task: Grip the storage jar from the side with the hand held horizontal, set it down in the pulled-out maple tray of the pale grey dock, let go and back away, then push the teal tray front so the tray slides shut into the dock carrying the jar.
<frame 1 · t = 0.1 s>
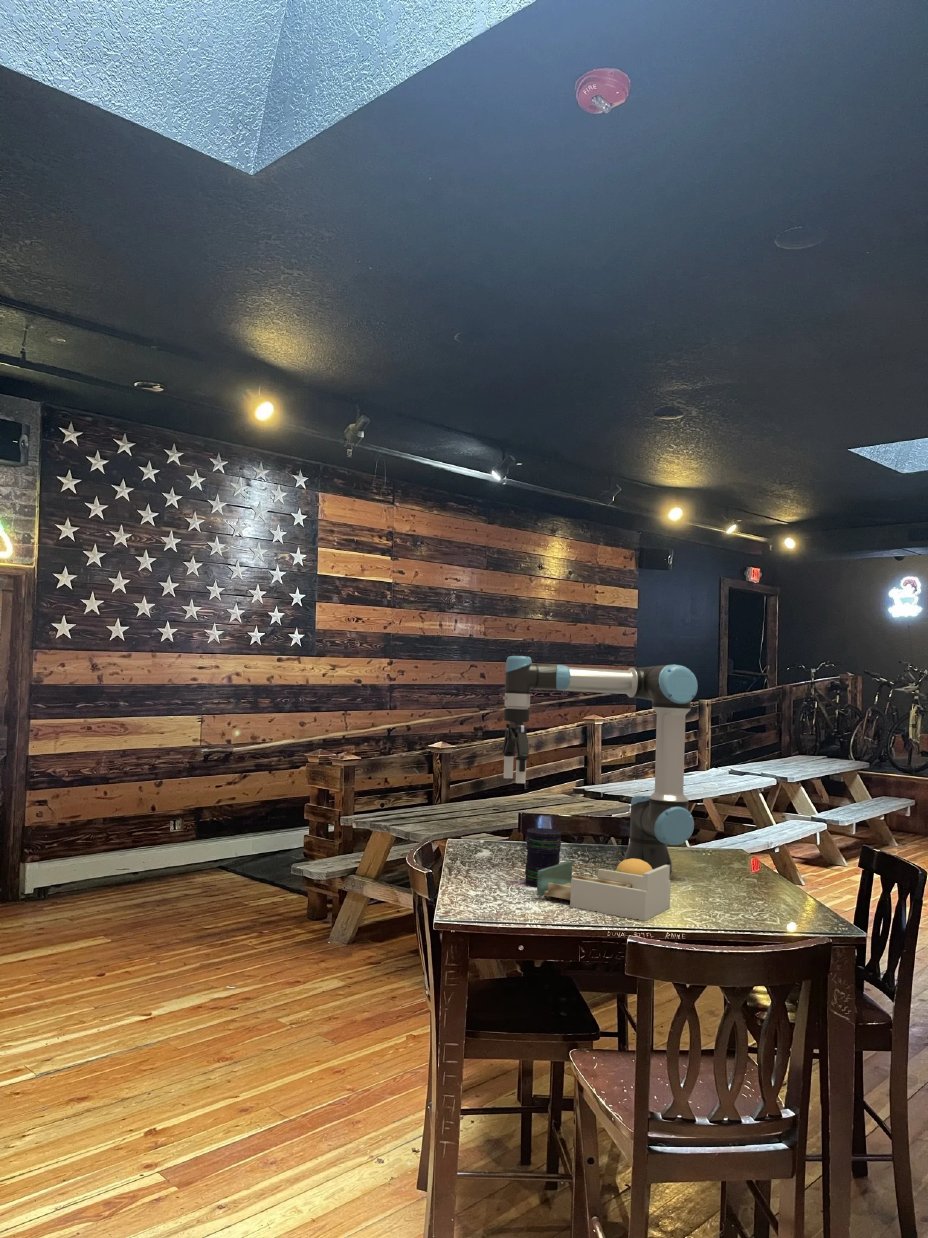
hand: (514, 780, 256), 28 cm above the table, tool pointing down, fingers open, 13 cm apart
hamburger: (634, 891, 245), on the table
dock: (620, 907, 224), on the table
tray: (586, 883, 230), point 4 cm above the table, slide at 8.0 cm
storage jar: (541, 885, 247), on the table
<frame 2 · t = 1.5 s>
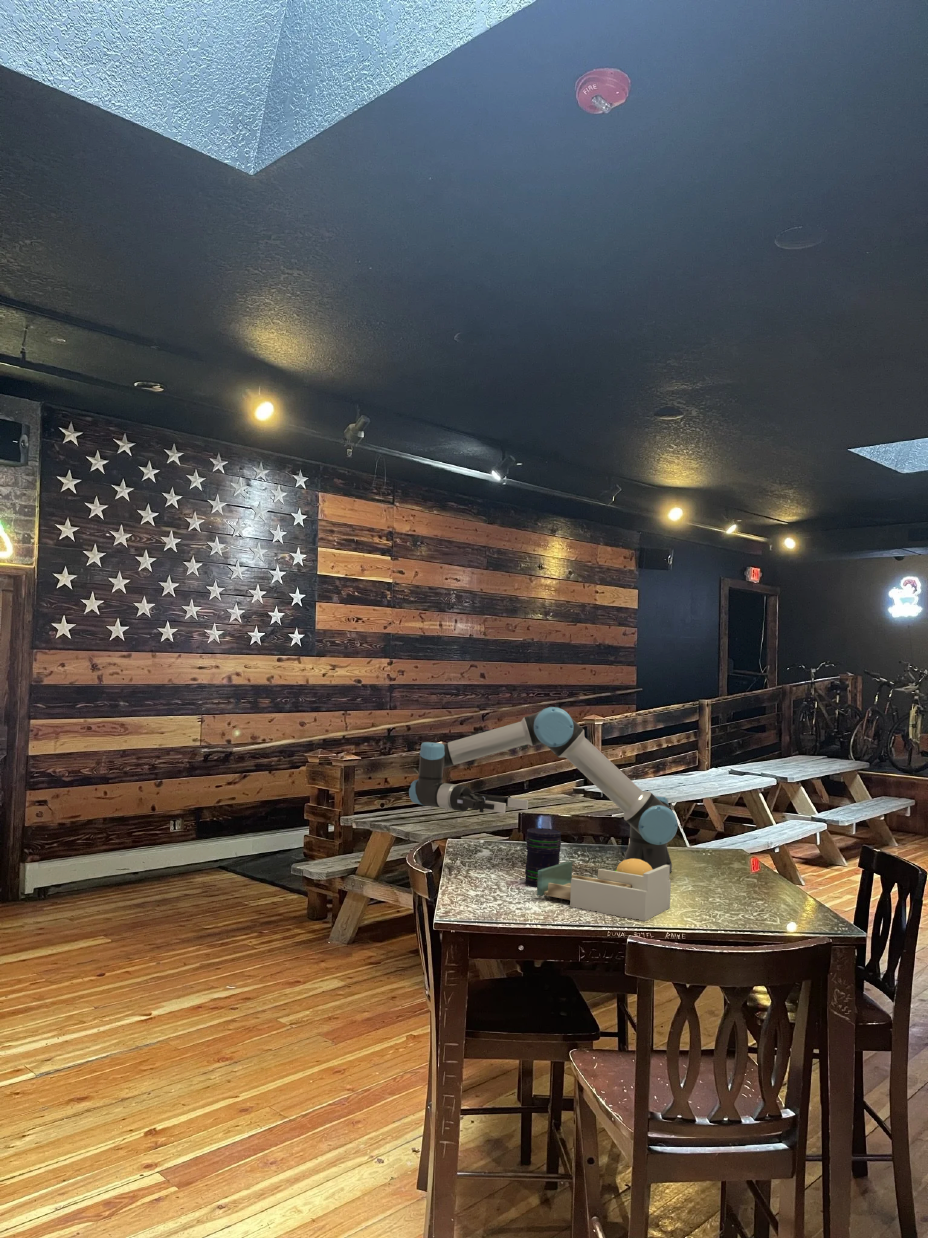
hand: (516, 806, 253), 21 cm above the table, tool horizontal, fingers open, 13 cm apart
nothing on the table moved.
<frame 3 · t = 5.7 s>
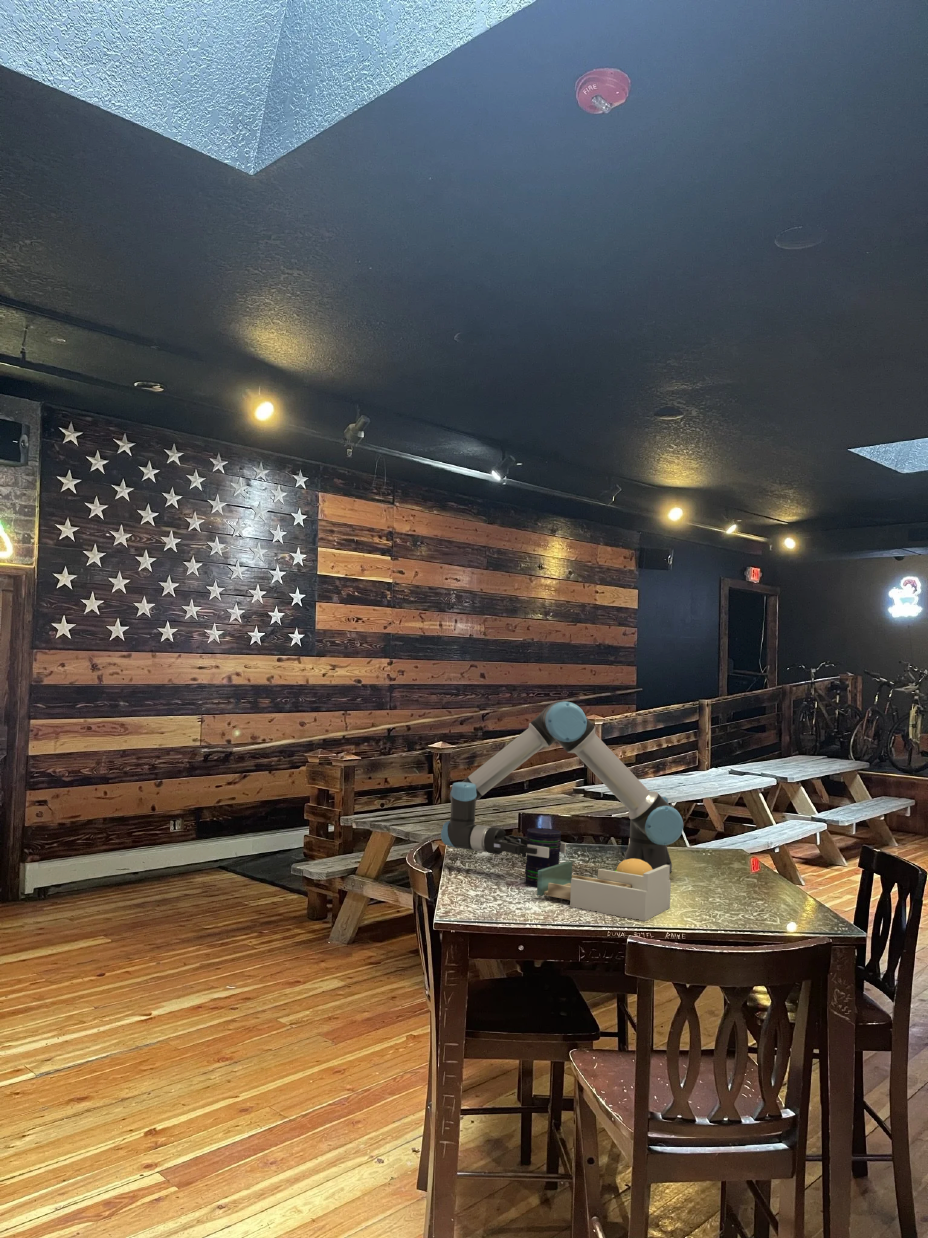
hand: (557, 850, 245), 10 cm above the table, tool horizontal, fingers closed on storage jar, 10 cm apart
storage jar: (541, 885, 247), on the table, touching gripper
everything else where it was.
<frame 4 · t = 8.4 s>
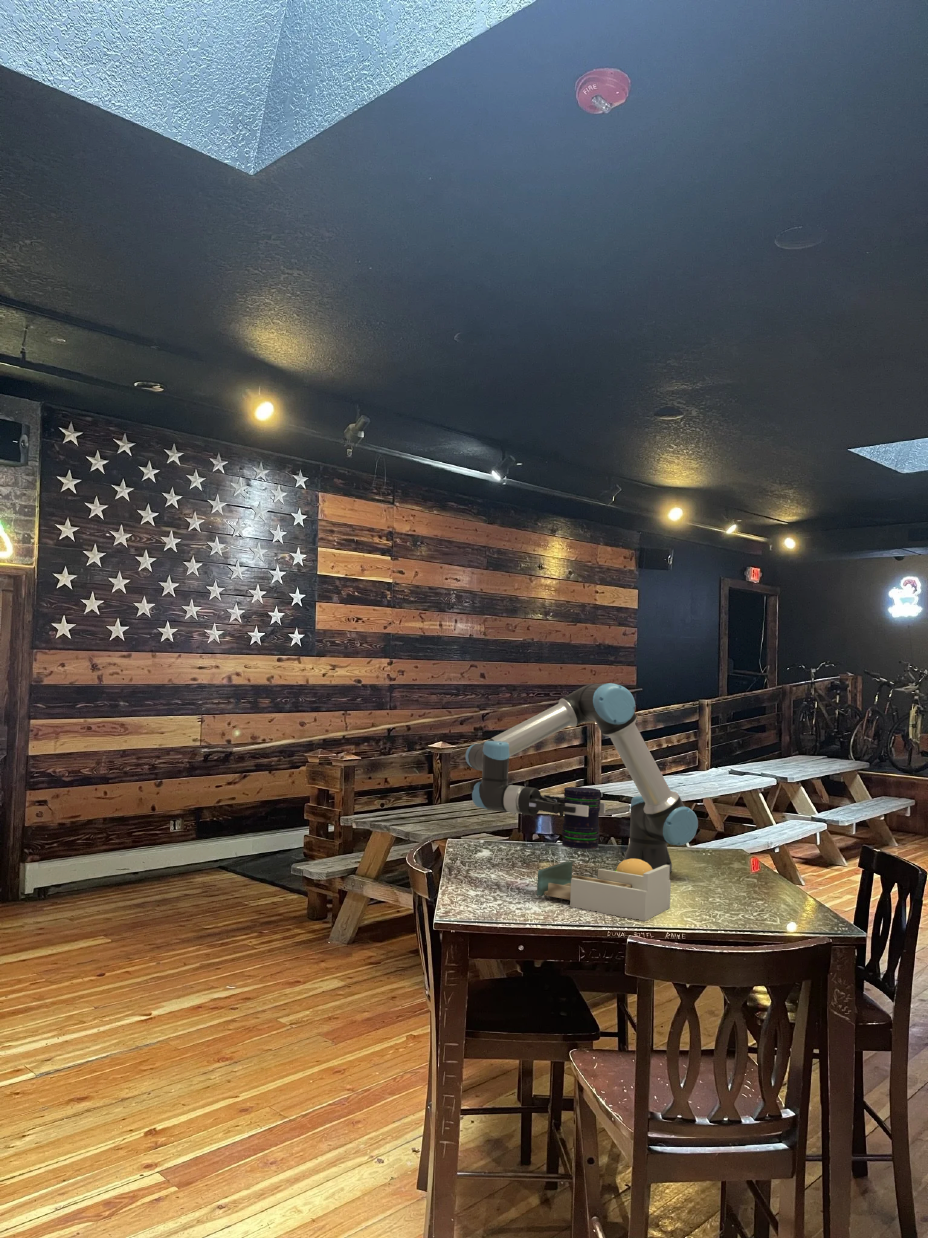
hand: (596, 809, 231), 24 cm above the table, tool horizontal, fingers closed on storage jar, 10 cm apart
storage jar: (580, 846, 232), point 14 cm above the table, touching gripper
everything else where it was.
when the fingers open (14 cm above the table, at t = 11.1 s): storage jar drops 2 cm, resting on tray.
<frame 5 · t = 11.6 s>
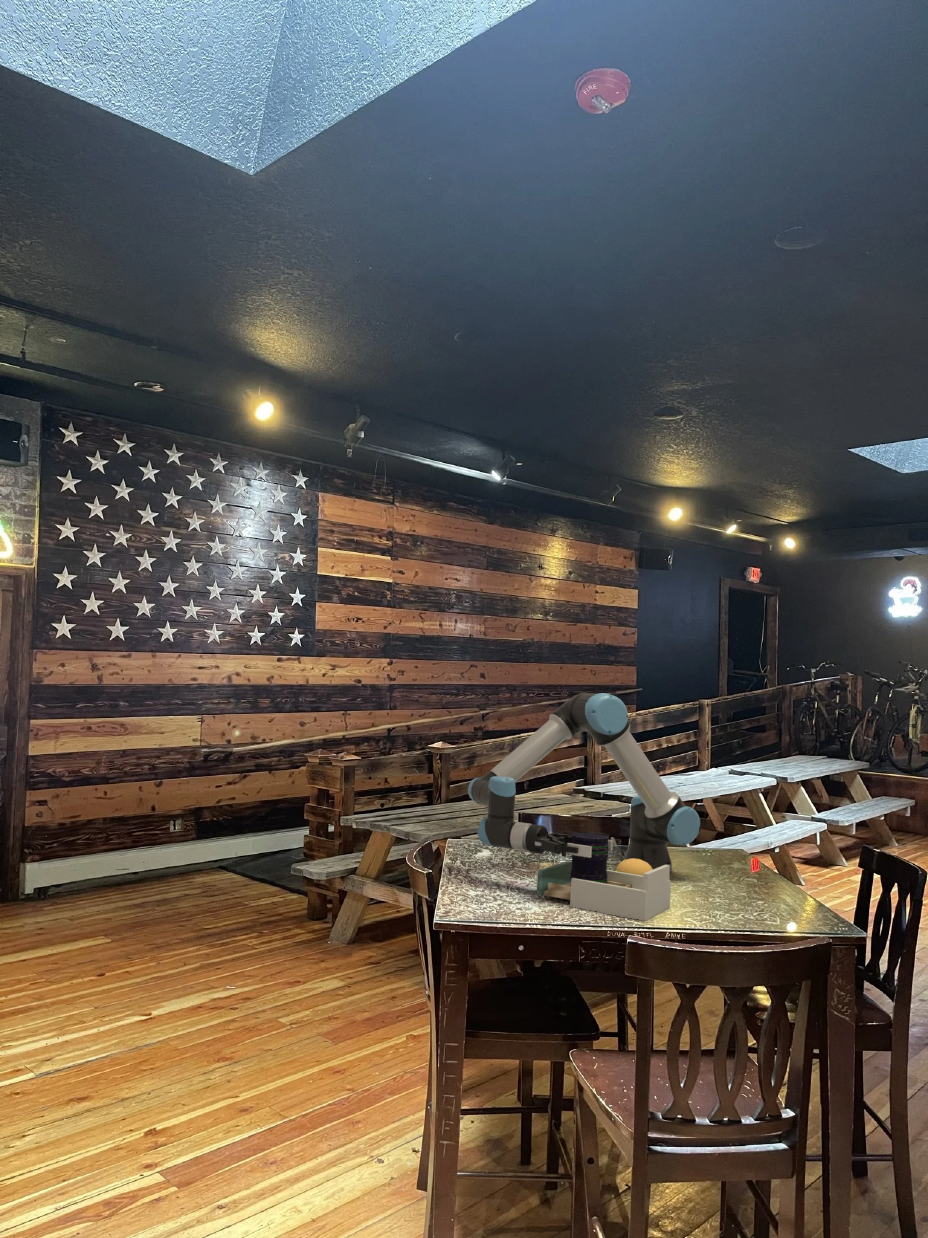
hand: (601, 849, 228), 14 cm above the table, tool horizontal, fingers open, 13 cm apart
tray: (586, 883, 230), point 4 cm above the table, slide at 8.0 cm, touching storage jar
storage jar: (588, 893, 229), point 2 cm above the table, touching tray
everything else where it was.
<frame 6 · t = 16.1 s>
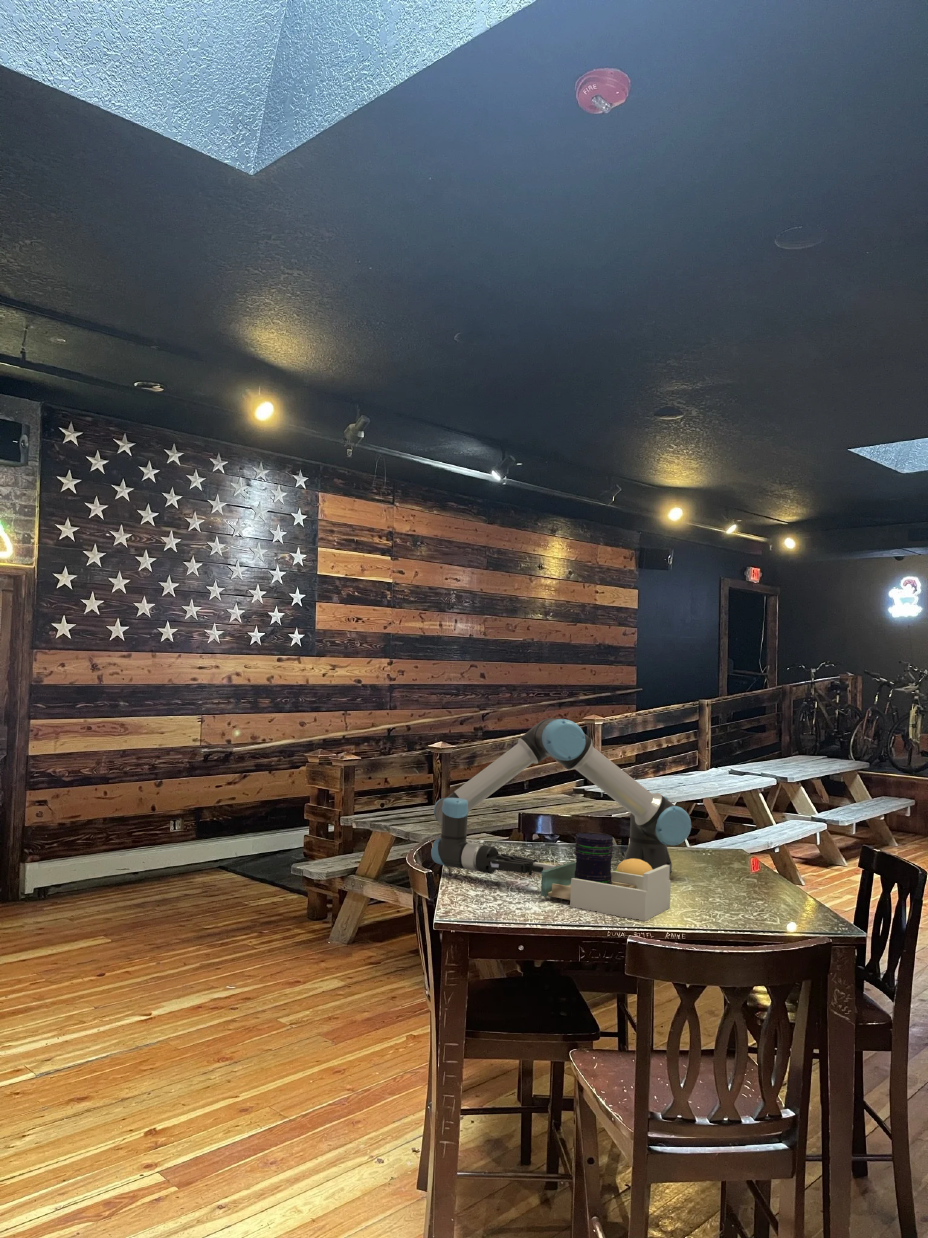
hand: (555, 871, 234), 6 cm above the table, tool horizontal, fingers closed
tray: (590, 884, 229), point 4 cm above the table, slide at 6.9 cm, touching gripper, storage jar
storage jar: (592, 894, 229), point 2 cm above the table, touching tray
everything else where it was.
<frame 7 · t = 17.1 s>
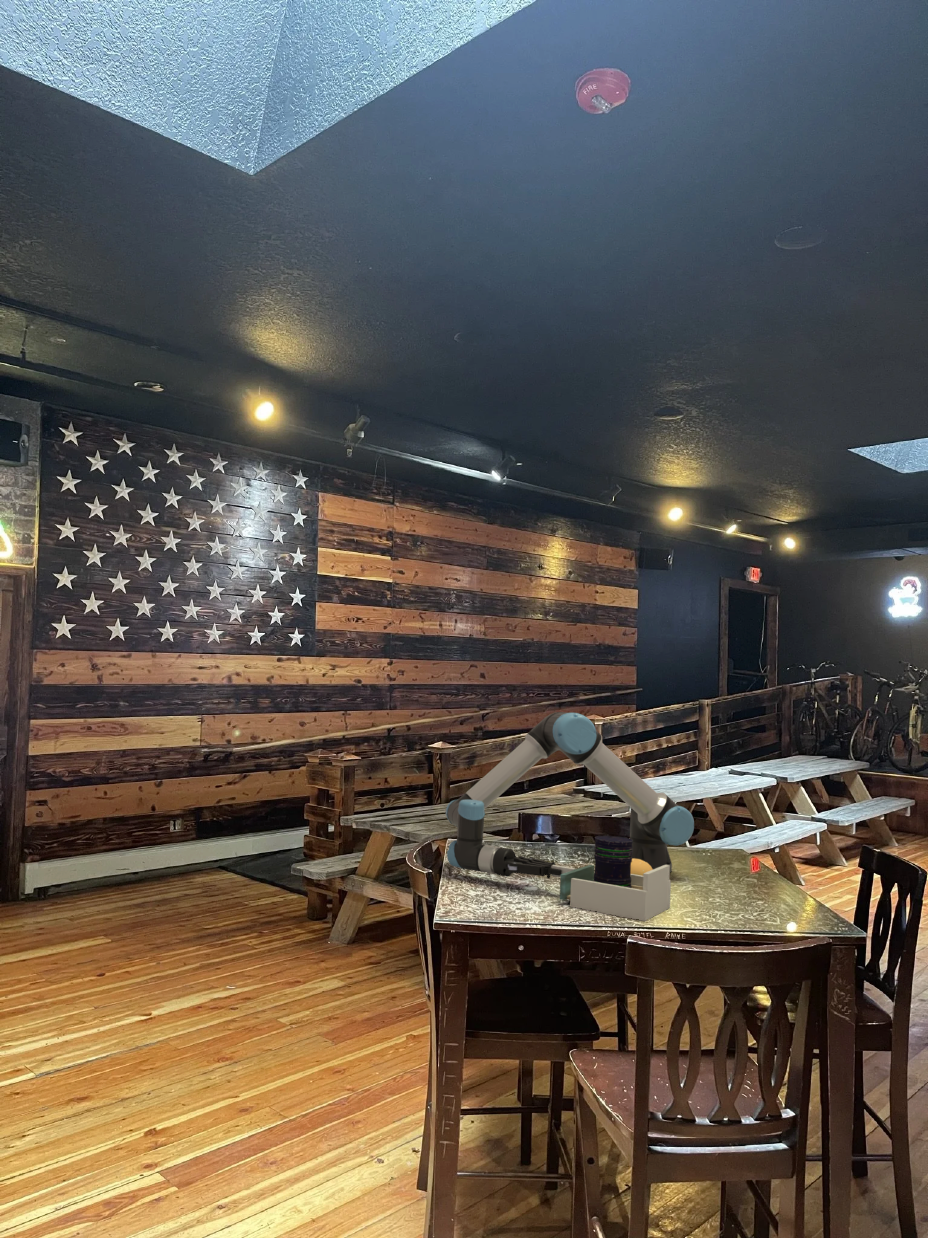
hand: (574, 874, 232), 6 cm above the table, tool horizontal, fingers closed
tray: (609, 887, 226), point 4 cm above the table, slide at 1.4 cm, touching gripper, storage jar
storage jar: (611, 898, 226), point 2 cm above the table, touching tray
everything else where it was.
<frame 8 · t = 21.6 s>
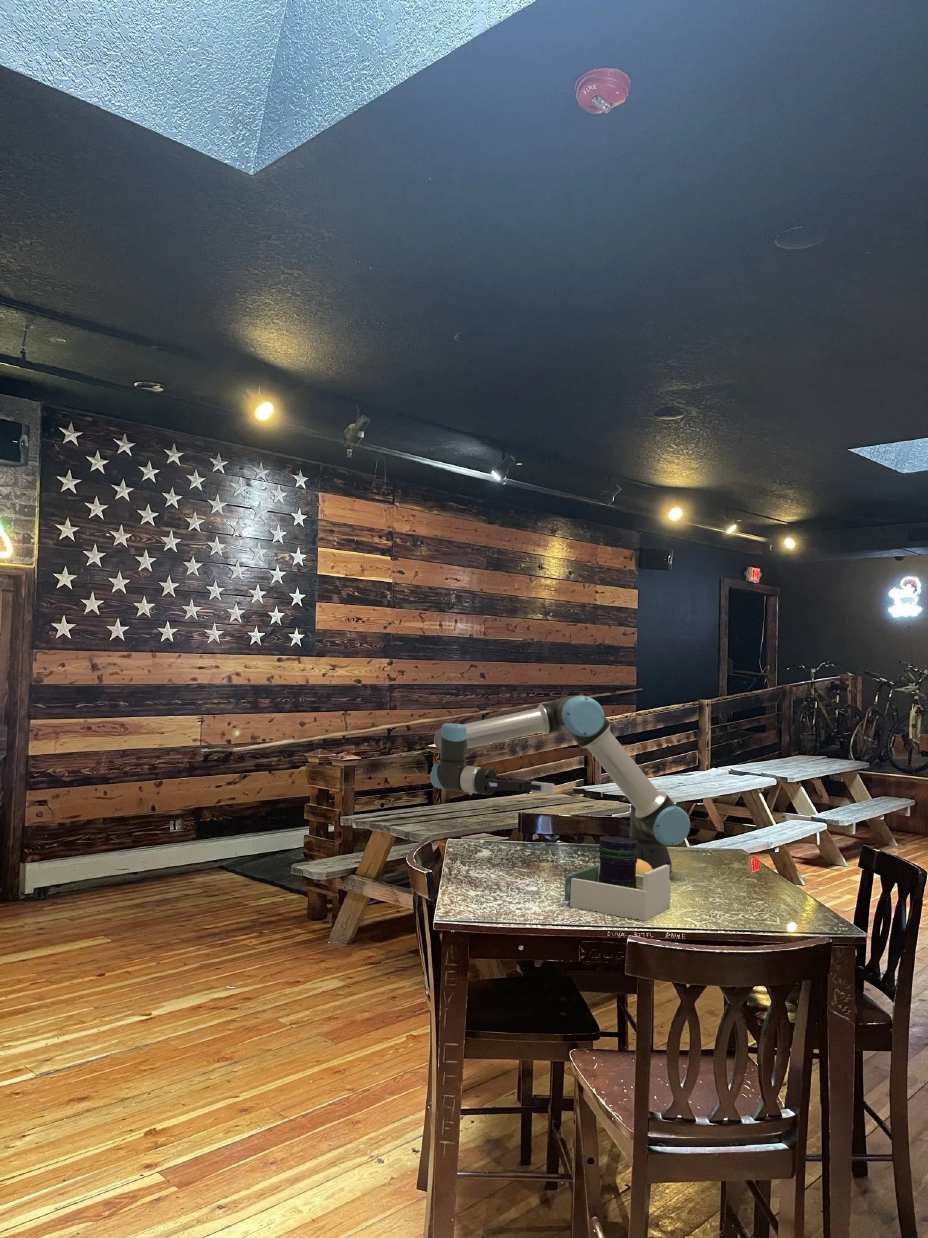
hand: (553, 789, 238), 28 cm above the table, tool horizontal, fingers closed
tray: (614, 888, 225), point 4 cm above the table, slide at 0.0 cm, touching storage jar
storage jar: (616, 899, 225), point 2 cm above the table, touching tray
everything else where it was.
at the end: tray slide at 0.0 cm; storage jar 1.1 cm from the dock (horizontally); storage jar tilted 0° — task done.
